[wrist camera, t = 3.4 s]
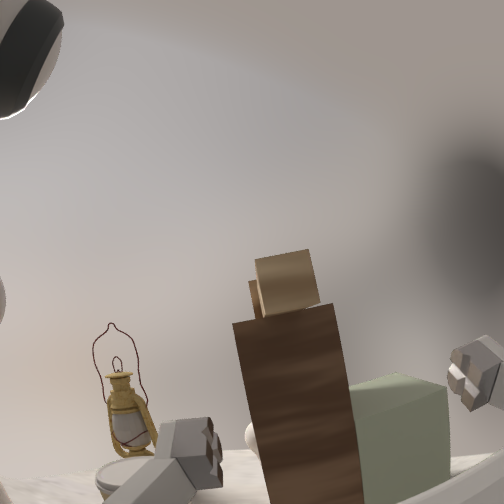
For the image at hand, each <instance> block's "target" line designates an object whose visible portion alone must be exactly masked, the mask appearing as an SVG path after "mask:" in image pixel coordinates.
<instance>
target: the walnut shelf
mask: <svg viewBox="0 0 504 504" xmlns="http://www.w3.org/2000/svg"><path fill="white" fill-rule="evenodd" d="M232 325H233V330H234V334H235V340H236V346H237V351H238V356H239V360H240V366H241V371H242V376H243V381H244V385H245V390H246V395H247V400H248V405H249V410H250V415H251V419H252V424H253V429H254V433H255V438H256V442H257V447H258V451H259V456H260V460H261V465H262V469H263V474H264V478H265V482H266V486H267V491H268V495H269V499H270V503H271V504H364V497H363V487H362V477H361V469H360V460H359V452H358V445H357V437H356V430H355V423H354V417H353V410H352V404H351V397H350V391H349V385H348V380H347V374H346V368H345V363H344V357H343V351H342V346H341V341H340V336H339V331H338V326H337V321H336V316H335V311H334V306H333V303H331V304H326V305H322V306H317V307H313V308H308V309H303V310H299V311H294V312H289V313H284V314H279V315H275V316H270V317H264V318H259V319H254V320H249V321H243V322H238V323H233V324H232Z"/></svg>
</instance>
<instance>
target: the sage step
mask: <svg viewBox="0 0 504 504" xmlns="http://www.w3.org/2000/svg"><path fill="white" fill-rule="evenodd" d="M349 391H350V397H351V404H352V410H353V417H354V423H355V430H356V437H357V445H358V452H359V460H360V469H361V477H362V487H363V497H364V504H397V503H399V502H402V501H404V500H407V499H409V498H411V497H414V496H416V495H418V494H420V493H423V492H425V491H427V490H429V489H431V488H433V487H435V486H437V485H440V484H442V483H444V482H446V481H447V480H449V479H450V424H449V408H448V395H447V387H445V386H441V385H438V384H434V383H431V382H427V381H424V380H420V379H417V378H413V377H410V376H407V375H404V374H400V373H397V372H395V373H392V374H390V375H386V376H384V377H380V378H377V379H374V380H370V381H367V382H364V383H360V384H357V385H353V386H350V387H349Z"/></svg>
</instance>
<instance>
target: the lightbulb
mask: <svg viewBox="0 0 504 504" xmlns="http://www.w3.org/2000/svg"><path fill="white" fill-rule="evenodd" d="M245 440H246V443H247V445H248V446H249V448H250V449H251V450H252V451H253V452H254V453H255V454H256V455H257V457H258V459H259V461H260V464H261V460H260V456H259V451H258V447H257V442H256V438H255V433H254V429H253V424H252V423H251V424H249V426H248V427H247V429H246V431H245ZM261 466H262V465H261Z"/></svg>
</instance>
